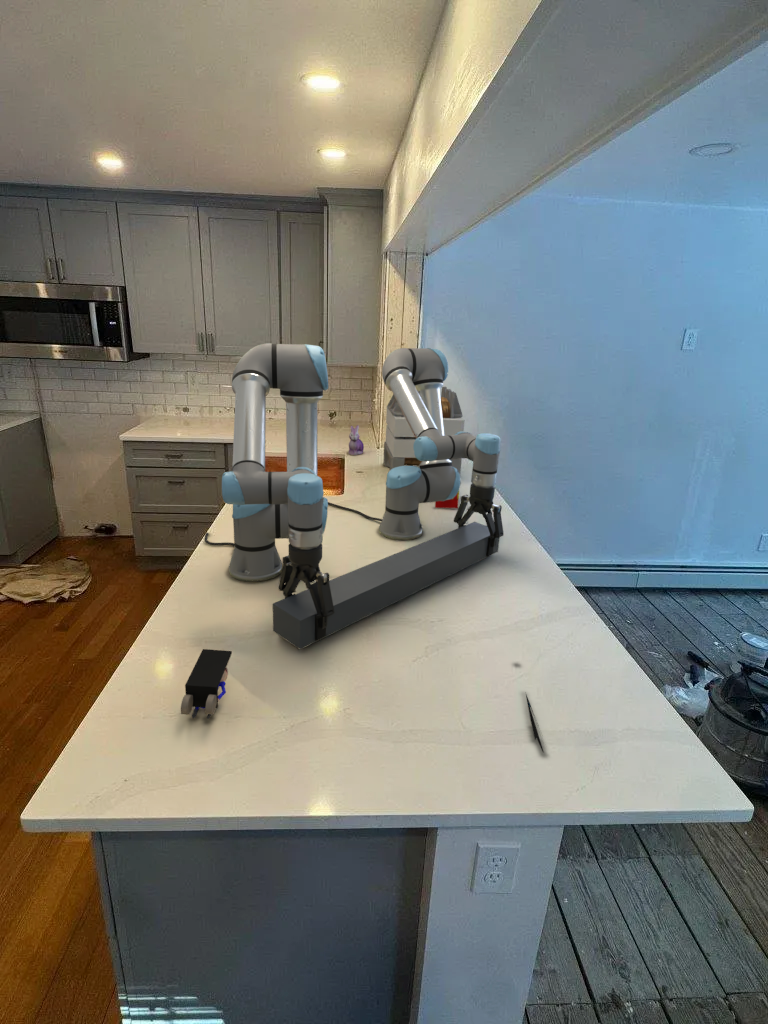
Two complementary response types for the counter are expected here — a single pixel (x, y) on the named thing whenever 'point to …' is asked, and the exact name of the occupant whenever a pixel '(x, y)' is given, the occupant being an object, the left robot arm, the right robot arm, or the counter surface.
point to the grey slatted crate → (402, 437)
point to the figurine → (355, 442)
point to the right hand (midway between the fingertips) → (475, 549)
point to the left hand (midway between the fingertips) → (305, 628)
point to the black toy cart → (206, 682)
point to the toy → (448, 503)
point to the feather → (534, 723)
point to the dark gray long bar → (382, 583)
